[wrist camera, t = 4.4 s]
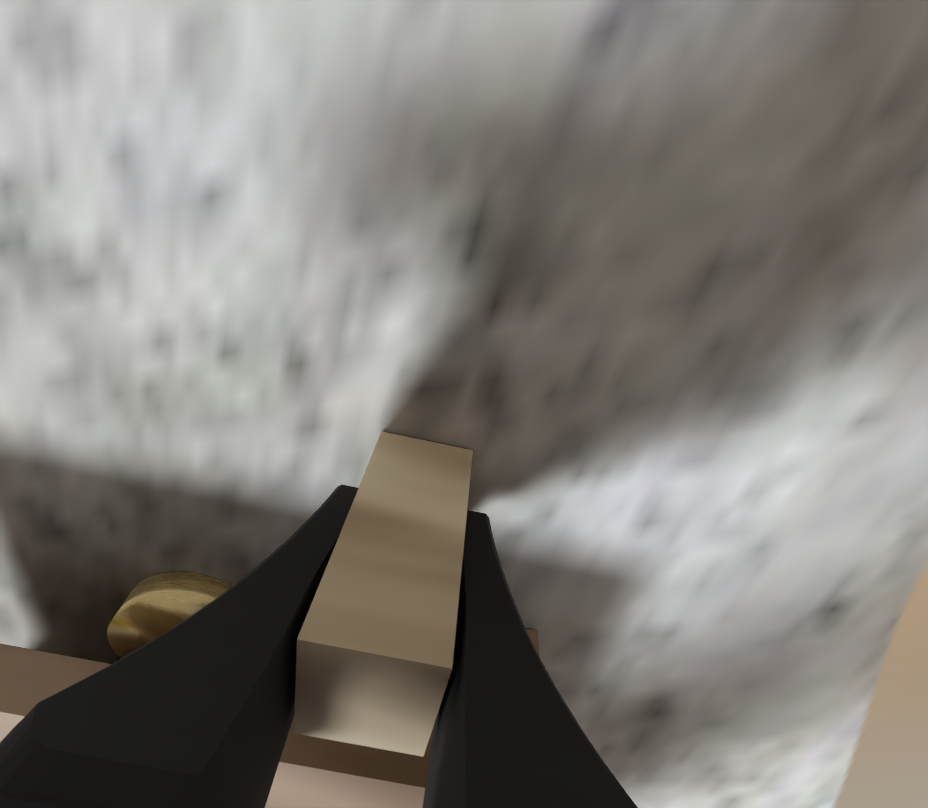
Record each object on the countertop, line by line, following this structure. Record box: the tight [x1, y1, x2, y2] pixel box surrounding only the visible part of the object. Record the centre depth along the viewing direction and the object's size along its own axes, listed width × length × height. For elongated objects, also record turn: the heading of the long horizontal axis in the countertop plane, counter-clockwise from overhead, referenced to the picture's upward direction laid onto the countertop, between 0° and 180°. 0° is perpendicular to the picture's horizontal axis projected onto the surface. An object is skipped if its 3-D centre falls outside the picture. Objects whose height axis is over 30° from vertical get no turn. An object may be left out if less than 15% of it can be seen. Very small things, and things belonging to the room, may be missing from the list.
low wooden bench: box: [0, 629, 539, 808], centre depth 16 cm, size 10×20×5 cm, turn 78°
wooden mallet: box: [294, 432, 473, 757], centre depth 13 cm, size 13×3×6 cm, turn 168°
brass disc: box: [107, 571, 232, 659], centre depth 17 cm, size 5×5×1 cm
